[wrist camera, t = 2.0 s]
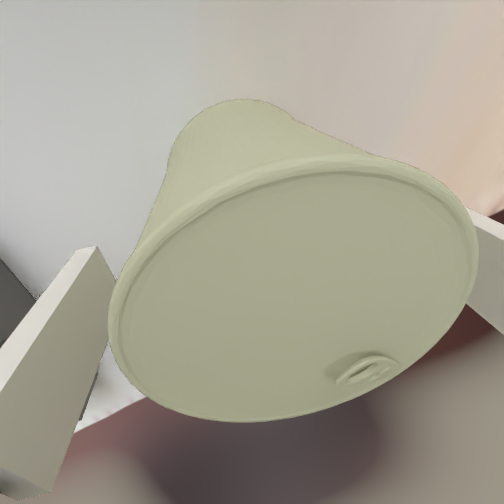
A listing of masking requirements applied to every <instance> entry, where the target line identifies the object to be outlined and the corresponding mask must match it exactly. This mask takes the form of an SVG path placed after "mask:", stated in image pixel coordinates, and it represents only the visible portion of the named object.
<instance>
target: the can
mask: <svg viewBox="0 0 504 504" xmlns="http://www.w3.org/2000/svg"><path fill="white" fill-rule="evenodd" d="M478 260H479V245H478V239H477V233H476V229H475V227H474V224H473V222H472V220H471V218H470V215H469V213H468V211H467V209H466V208H465V207H464V205H463V204H462V203H461V202H460V200H459V199H458V198H457V196H456V195H455V194H454V193H452V192H451V191H450V190H449V189H448V188H447V187H446V186H445V185H444V184H442V183H441V182H439V181H438V180H436V179H435V178H433V177H432V176H430V175H429V174H427V173H425V172H423V171H421V170H419V169H417V168H415V167H413V166H410V165H407V164H405V163H402V162H399V161H395V160H391V159H387V158H383V157H379V156H375V155H372V154H370V153H368V152H365V151H363V150H361V149H358V148H356V147H354V146H352V145H349V144H347V143H345V142H342V141H340V140H338V139H336V138H333V137H331V136H329V135H326V134H324V133H322V132H320V131H318V130H316V129H313V128H311V127H309V126H307V125H305V124H303V123H301V122H299V121H296V120H295V119H294V118H293V117H291V116H290V115H289V114H288V113H286V112H285V111H283V110H282V109H280V108H278V107H276V106H274V105H272V104H269V103H266V102H263V101H258V100H251V99H236V100H230V101H226V102H222V103H219V104H216V105H214V106H212V107H209V108H207V109H206V110H204V111H202V112H201V113H199V114H198V115H197V116H195V117H194V118H193V119H192V120H191V121H190V122H189V123H188V124H187V125H186V126H185V127H184V128H183V130H182V131H181V132H180V134H179V135H178V137H177V139H176V141H175V142H174V145H173V147H172V149H171V152H170V155H169V159H168V164H167V173H166V175H165V178H164V181H163V184H162V186H161V189H160V191H159V193H158V196H157V198H156V201H155V203H154V206H153V208H152V210H151V213H150V215H149V218H148V220H147V222H146V225H145V227H144V229H143V232H142V234H141V237H140V239H139V241H138V244H137V246H136V249H135V250H134V252H133V253H132V255H131V256H130V258H129V259H128V260H127V262H126V264H125V266H124V268H123V269H122V271H121V273H120V275H119V278H118V280H117V282H116V284H115V287H114V290H113V293H112V297H111V301H110V304H109V311H108V336H109V342H110V347H111V350H112V353H113V355H114V358H115V361H116V363H117V364H118V366H119V368H120V370H121V371H122V372H123V374H124V375H125V376H126V377H127V379H128V380H129V381H130V383H131V384H132V385H133V386H135V387H136V388H137V389H138V390H139V391H140V392H141V393H143V394H144V395H145V396H147V397H148V398H150V399H152V400H153V401H155V402H157V403H158V404H160V405H162V406H164V407H166V408H168V409H171V410H174V411H176V412H179V413H182V414H185V415H189V416H193V417H197V418H201V419H208V420H215V421H224V422H262V421H272V420H279V419H285V418H292V417H297V416H301V415H305V414H310V413H314V412H317V411H321V410H324V409H327V408H330V407H333V406H336V405H338V404H341V403H343V402H346V401H348V400H351V399H354V398H356V397H358V396H360V395H362V394H364V393H367V392H369V391H370V390H373V389H375V388H376V387H378V386H380V385H382V384H383V383H385V382H387V381H389V380H391V379H392V378H393V377H395V376H396V375H398V374H399V373H401V372H402V371H404V370H405V369H407V368H408V367H409V366H411V365H412V364H413V363H414V362H416V361H417V360H418V359H420V358H421V357H422V356H423V355H424V354H425V353H426V352H427V351H429V350H430V349H431V348H432V347H433V346H434V345H435V344H436V343H437V342H438V341H439V340H440V339H441V337H442V336H443V335H444V334H445V333H446V332H447V331H448V329H450V327H451V326H452V324H453V323H454V321H455V320H456V318H457V317H458V315H459V314H460V312H461V311H462V309H463V307H464V305H465V303H466V302H467V300H468V298H469V295H470V293H471V291H472V288H473V286H474V282H475V279H476V275H477V269H478Z"/></svg>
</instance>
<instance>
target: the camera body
mask: <svg viewBox="0 0 504 504" xmlns="http://www.w3.org/2000/svg"><path fill="white" fill-rule="evenodd" d="M35 303H36V300H35V299H34V298H33V297H32V296H31V295H30V293H29V292H28V291H27V290H26V289H25V288H24V286H23V285H22V284H21V283H20V282H19V281H18V279H17V278H16V277H15V276H14V275H13V274H12V272H11V271H10V270H9V269H8V268H7V266H6V265H5V264H4V263H3V262H2V261H1V259H0V342H1V341H2V340H4V339H7V338H9V337H10V335H11V334H12V333H13V331H14V330H15V329H16V328H17V326H18V325H19V324H20V322H21V321H22V320H23V319H24V317H25V316H26V315H27V313H28V312H29V311H30V309H31V308H32V307H33V306H34V304H35ZM97 375H98V373H97V372H96V374H95V377H94V380H93V382H92V385H91V388H90V390H89V393H88V396H87V398H86V401H85V404H84V406H83V409H82V412H81V414H80V417H79V420H78V421H80V420H82V417H83V414H84V412H85V409H86V406H87V403H88V400H89V397H90V395H91V392H92V389H93V386H94V383H95V381H96V378H97Z"/></svg>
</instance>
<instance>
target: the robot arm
mask: <svg viewBox="0 0 504 504" xmlns="http://www.w3.org/2000/svg"><path fill="white" fill-rule="evenodd" d="M464 207H465V206H464ZM465 208H466V209H467V211H468V213H469V215H470V218H471V220H472V222H473V224H474V227H475V229H476V233H477V239H478V245H479V260H478V269H477V275H476V279H475V282H474V286H473V288H472V291H471V293H470V295H469V298H468V300H467V302H466V303H467V304H468V305H469V306H470V307H471V308H473V309H474V310H475V311H476V312H477V313H478V314H479V315H481V316H482V317H483V318H484V319H485V320H487V321H488V322H489V323H490V324H492V325H493V326H494V327H495V328H496V329H498V330H499V331H500V332H501V333H502V334H503V335H504V225H503V224H501V223H499V222H496V221H494V220H492V219H490V218H488V217H486V216H484V215H482V214H479V213H477V212H475V211H473V210H471V209H469V208H467V207H465ZM115 284H116V280H115V278H114V276H113V274H112V273H111V271H110V269H109V267H108V265H107V263H106V261H105V260H104V258H103V256H102V254H101V252H100V250H99V248H98V247H97V246H94V247H88V248H82V249H77V250H76V251H75V252H74V254H73V255H72V256H71V258H70V259H69V260H68V262H67V263H66V264H65V265H64V267H63V268H62V269H61V271H60V272H59V273H58V274H57V276H56V277H55V278H54V280H53V281H52V282H51V284H50V285H49V286H48V287H47V289H46V290H45V291H44V293H43V294H42V295H41V296H40V298H39V299H38V300H37V302H36V303H35V304H34V306H33V307H32V308H31V309H30V311H29V312H28V313H27V315H26V316H25V317H24V319H23V320H22V321H21V322H20V324H19V325H18V326H17V328H16V329H15V330H14V331H13V333H12V334H11V335H10V337H9V338H7V339H4V340H2V341H1V342H0V493H1V494H4V495H6V496H8V497H11V498H13V499H15V500H20V499H25V498H29V497H34V496H38V495H42V494H46V493H51V491H52V489H53V486H54V483H55V481H56V478H57V475H58V473H59V470H60V467H61V465H62V462H63V459H64V457H65V454H66V451H67V449H68V446H69V444H70V441H71V438H72V436H73V433H74V430H75V428H76V425H77V422H78V420H79V417H80V414H81V412H82V409H83V406H84V404H85V401H86V398H87V396H88V393H89V390H90V388H91V385H92V382H93V380H94V377H95V374H96V372H97V369H98V366H99V364H100V361H101V358H102V356H103V353H104V350H105V348H106V345H107V342H108V340H109V336H108V311H109V304H110V301H111V297H112V293H113V290H114V287H115Z"/></svg>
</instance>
